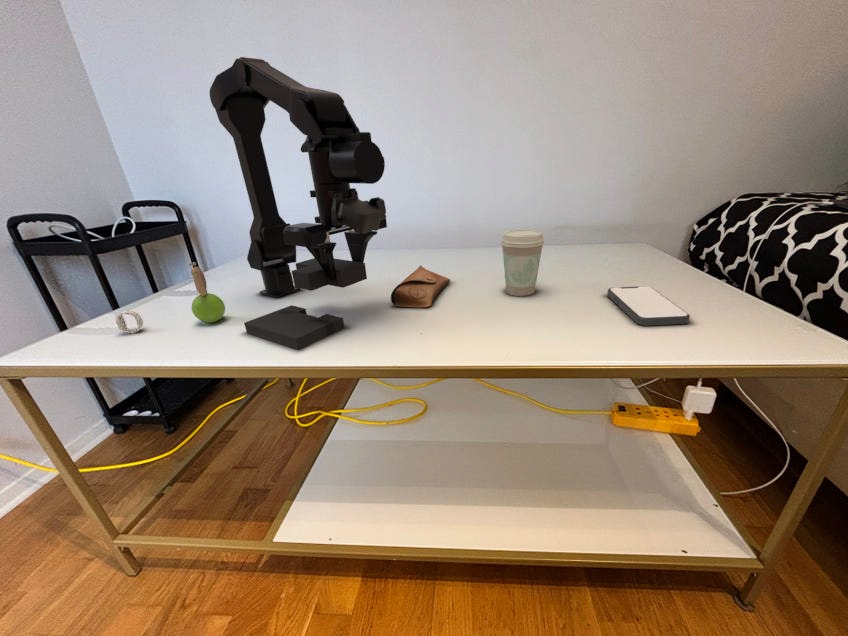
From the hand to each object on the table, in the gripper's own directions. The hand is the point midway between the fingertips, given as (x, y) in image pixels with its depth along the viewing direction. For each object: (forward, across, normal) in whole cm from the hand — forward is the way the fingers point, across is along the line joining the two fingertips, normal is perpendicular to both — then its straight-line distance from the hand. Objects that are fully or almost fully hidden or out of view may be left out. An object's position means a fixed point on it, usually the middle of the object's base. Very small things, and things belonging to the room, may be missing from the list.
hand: (346, 276), depth 74 cm
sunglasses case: (+8, +17, -4) cm, 19 cm away
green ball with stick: (+8, -15, +22) cm, 28 cm away
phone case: (+8, +28, -46) cm, 54 cm away
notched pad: (+8, -9, +4) cm, 12 cm away
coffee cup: (+8, +27, -22) cm, 36 cm away
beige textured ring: (+8, -25, +31) cm, 41 cm away
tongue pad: (+1, -2, +4) cm, 5 cm away
